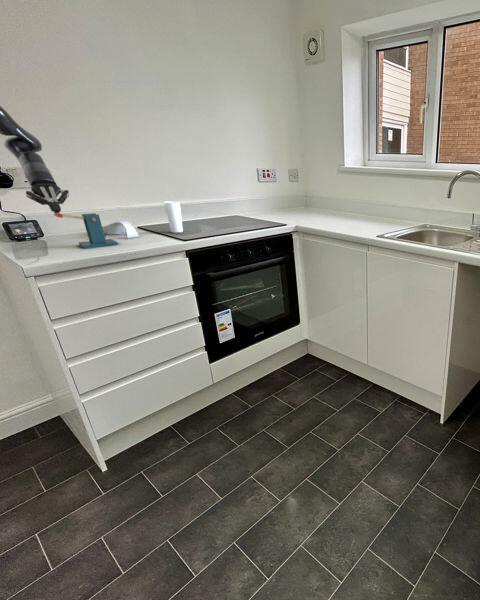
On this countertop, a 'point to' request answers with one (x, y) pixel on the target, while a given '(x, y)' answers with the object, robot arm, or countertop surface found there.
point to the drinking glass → (174, 216)
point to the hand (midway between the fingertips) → (57, 211)
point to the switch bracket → (95, 232)
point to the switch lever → (68, 216)
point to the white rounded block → (120, 229)
